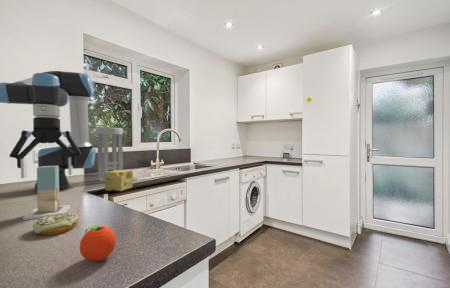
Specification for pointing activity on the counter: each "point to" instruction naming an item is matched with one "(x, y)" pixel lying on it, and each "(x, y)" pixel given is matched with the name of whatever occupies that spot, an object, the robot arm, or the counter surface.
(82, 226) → the counter surface
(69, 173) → the robot arm
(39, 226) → the decorated donut
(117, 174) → the cheese
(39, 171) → the teal block
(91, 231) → the tomato
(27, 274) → the counter surface
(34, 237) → the counter surface
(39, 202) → the birch block
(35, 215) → the blueprint board
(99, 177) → the stool
